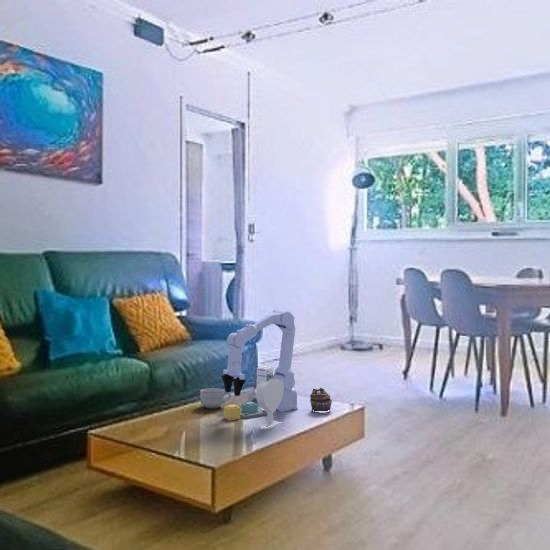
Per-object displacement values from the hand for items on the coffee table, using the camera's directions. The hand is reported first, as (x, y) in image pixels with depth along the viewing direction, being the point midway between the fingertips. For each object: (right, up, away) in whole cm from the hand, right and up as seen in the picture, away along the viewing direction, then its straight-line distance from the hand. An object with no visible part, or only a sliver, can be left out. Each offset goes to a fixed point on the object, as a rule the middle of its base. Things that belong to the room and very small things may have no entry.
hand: (232, 393), depth 259 cm
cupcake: (+38, -10, +13) cm, 42 cm away
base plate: (+7, -10, +8) cm, 14 cm away
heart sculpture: (+16, -11, -9) cm, 21 cm away
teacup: (-9, -10, +18) cm, 23 cm away
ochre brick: (0, -10, 0) cm, 10 cm away
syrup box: (+13, -9, +40) cm, 43 cm away
